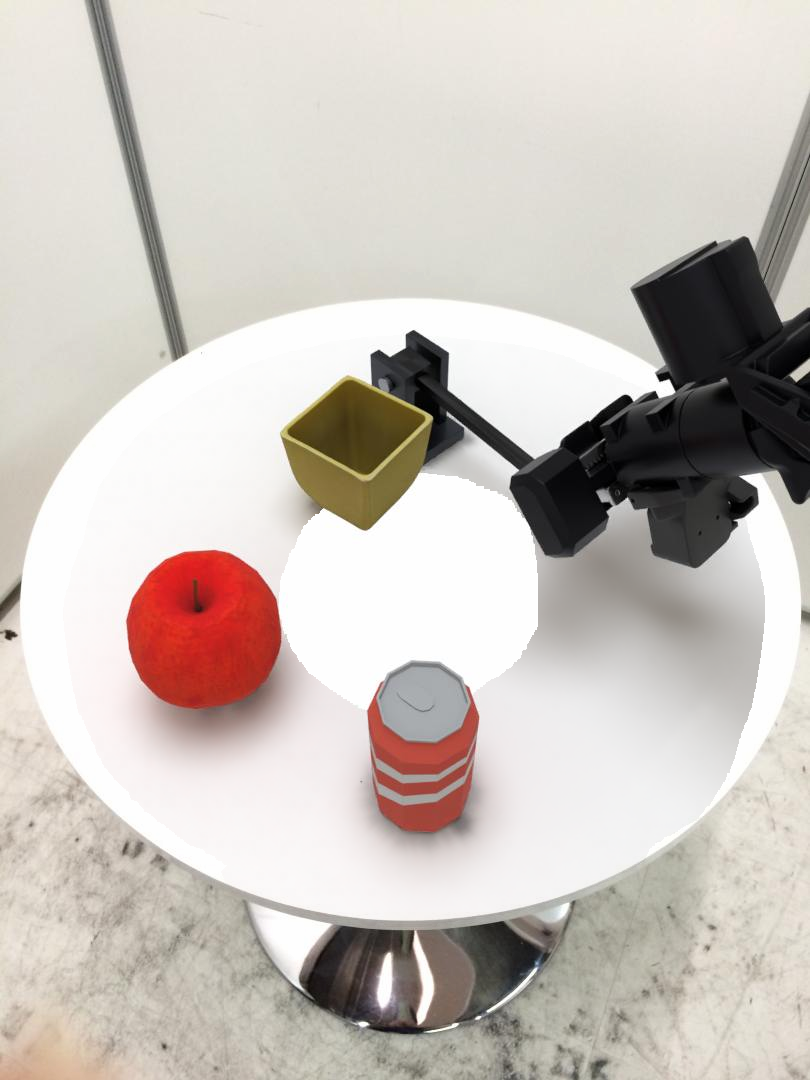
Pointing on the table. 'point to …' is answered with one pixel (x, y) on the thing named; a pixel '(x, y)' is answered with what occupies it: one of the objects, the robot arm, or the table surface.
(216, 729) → the table surface
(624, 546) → the table surface
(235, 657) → the apple
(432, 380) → the lever
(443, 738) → the beverage can
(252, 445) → the table surface
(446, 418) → the bracket
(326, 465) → the flower pot
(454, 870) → the table surface
